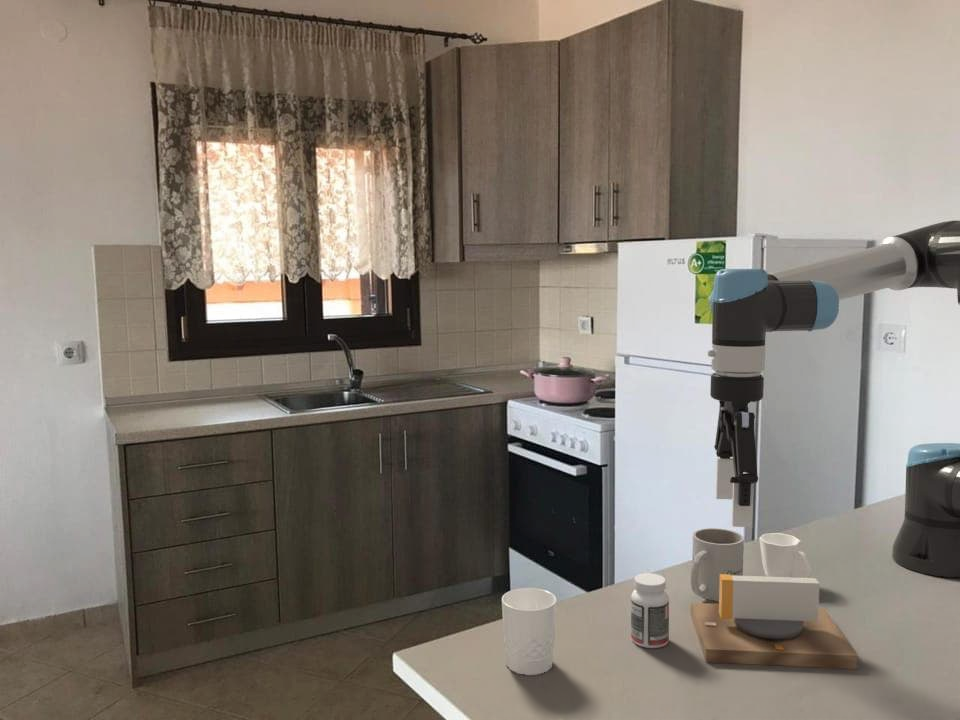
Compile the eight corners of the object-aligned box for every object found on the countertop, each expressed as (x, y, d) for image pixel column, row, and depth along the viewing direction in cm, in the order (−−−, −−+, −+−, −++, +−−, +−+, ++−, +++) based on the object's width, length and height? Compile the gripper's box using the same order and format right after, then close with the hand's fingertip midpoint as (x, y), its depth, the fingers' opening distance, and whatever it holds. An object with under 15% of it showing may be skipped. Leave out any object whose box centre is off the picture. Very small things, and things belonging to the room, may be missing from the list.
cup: (776, 571, 150) (777, 530, 149) (822, 590, 142) (823, 546, 141) (749, 579, 147) (750, 536, 146) (795, 598, 138) (796, 553, 137)
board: (823, 619, 130) (823, 606, 130) (857, 669, 114) (857, 654, 114) (690, 614, 133) (690, 601, 133) (705, 662, 117) (706, 647, 117)
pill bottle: (670, 635, 126) (671, 574, 124) (666, 652, 120) (667, 588, 119) (633, 630, 127) (634, 570, 126) (628, 646, 122) (628, 583, 121)
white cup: (540, 683, 112) (540, 615, 111) (492, 669, 116) (491, 602, 115) (565, 659, 118) (565, 594, 117) (519, 646, 123) (518, 583, 121)
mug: (714, 577, 148) (715, 525, 147) (752, 593, 141) (754, 538, 140) (666, 593, 141) (667, 538, 140) (704, 610, 134) (706, 552, 133)
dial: (806, 611, 127) (808, 567, 127) (825, 641, 118) (827, 593, 117) (714, 608, 129) (715, 564, 128) (725, 637, 119) (726, 590, 118)
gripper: (698, 362, 132) (695, 488, 135) (726, 385, 107) (721, 538, 110) (746, 362, 131) (742, 489, 134) (784, 386, 107) (778, 540, 109)
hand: (732, 511), depth 122 cm, fingers open, 13 cm apart
